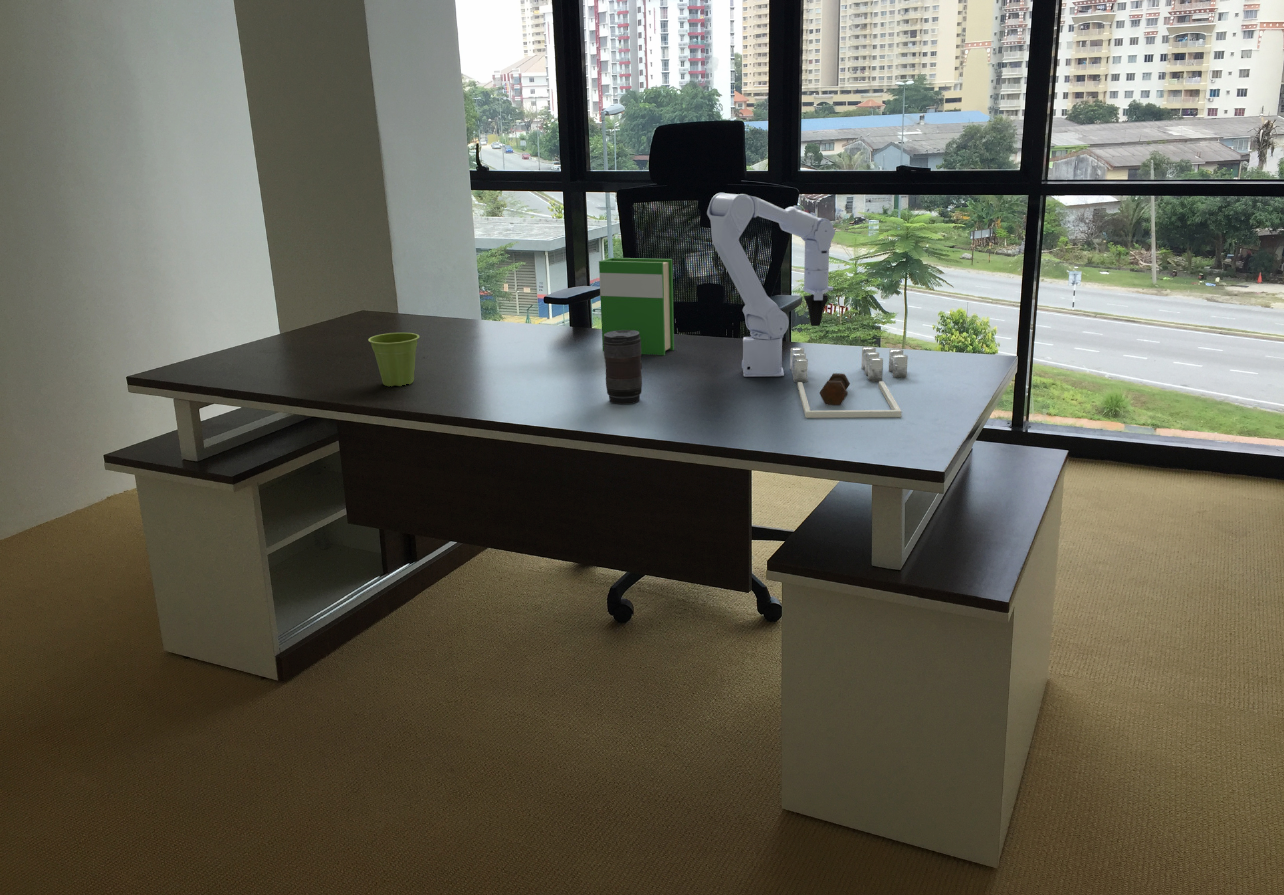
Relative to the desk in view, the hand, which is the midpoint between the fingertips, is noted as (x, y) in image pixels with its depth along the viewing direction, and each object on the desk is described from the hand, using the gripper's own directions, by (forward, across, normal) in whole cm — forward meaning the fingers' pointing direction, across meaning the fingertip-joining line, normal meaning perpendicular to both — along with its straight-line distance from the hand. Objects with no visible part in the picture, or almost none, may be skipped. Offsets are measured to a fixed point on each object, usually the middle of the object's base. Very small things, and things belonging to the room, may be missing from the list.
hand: (815, 325), depth 248 cm
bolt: (+10, -30, -2) cm, 32 cm away
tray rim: (+10, -34, -4) cm, 36 cm away
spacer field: (+10, -10, -7) cm, 16 cm away
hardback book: (+10, +20, +45) cm, 50 cm away
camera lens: (+10, -32, +44) cm, 55 cm away
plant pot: (+10, -15, +100) cm, 102 cm away
